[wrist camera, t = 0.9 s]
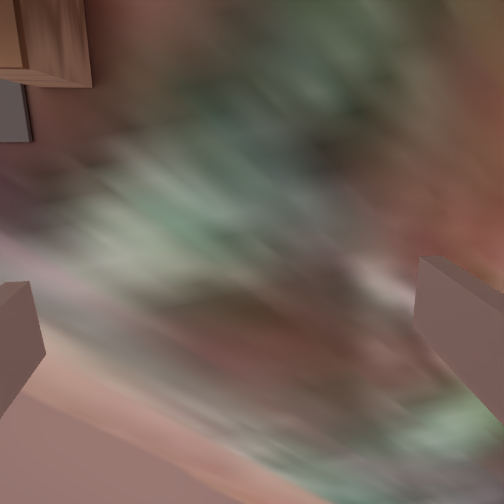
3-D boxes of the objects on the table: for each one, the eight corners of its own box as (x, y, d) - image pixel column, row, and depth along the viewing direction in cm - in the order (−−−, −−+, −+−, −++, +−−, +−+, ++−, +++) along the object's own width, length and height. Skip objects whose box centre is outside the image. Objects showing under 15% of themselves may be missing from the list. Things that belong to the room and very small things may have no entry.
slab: (19, -37, 28) (-113, -148, 17) (80, -35, 29) (-9, -141, 17) (37, 87, 31) (-68, 66, 19) (93, 88, 31) (22, 67, 20)
